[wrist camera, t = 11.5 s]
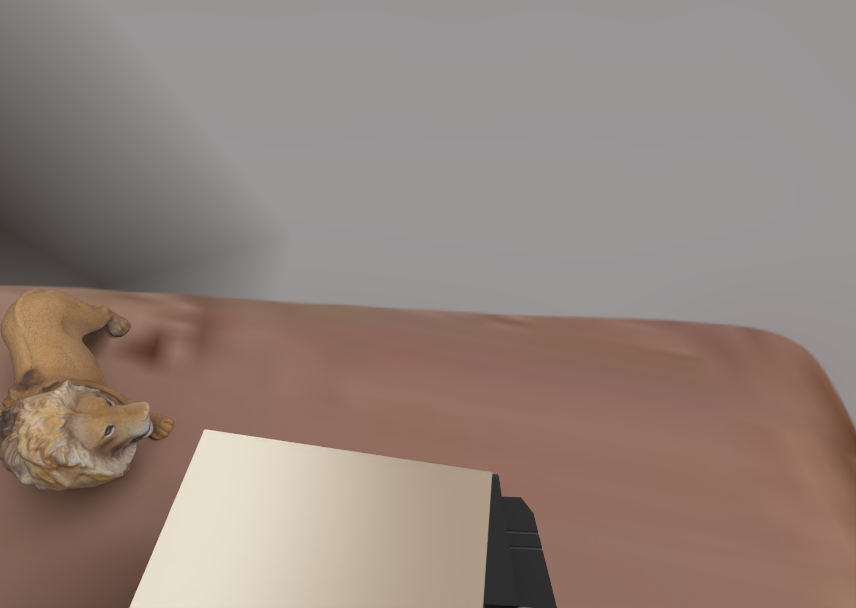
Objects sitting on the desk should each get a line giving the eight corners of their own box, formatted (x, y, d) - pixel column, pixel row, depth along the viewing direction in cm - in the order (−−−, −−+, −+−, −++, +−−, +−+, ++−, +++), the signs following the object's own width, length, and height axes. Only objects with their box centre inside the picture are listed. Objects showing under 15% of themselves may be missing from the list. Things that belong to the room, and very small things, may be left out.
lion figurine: (232, 459, 23) (122, 405, 15) (138, 540, 21) (-39, 525, 13) (116, 300, 29) (-5, 202, 21) (35, 352, 27) (-130, 266, 19)
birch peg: (333, 649, 13) (20, 866, 4) (361, 517, 15) (204, 429, 5) (452, 673, 12) (455, 994, 3) (464, 535, 14) (492, 472, 5)
